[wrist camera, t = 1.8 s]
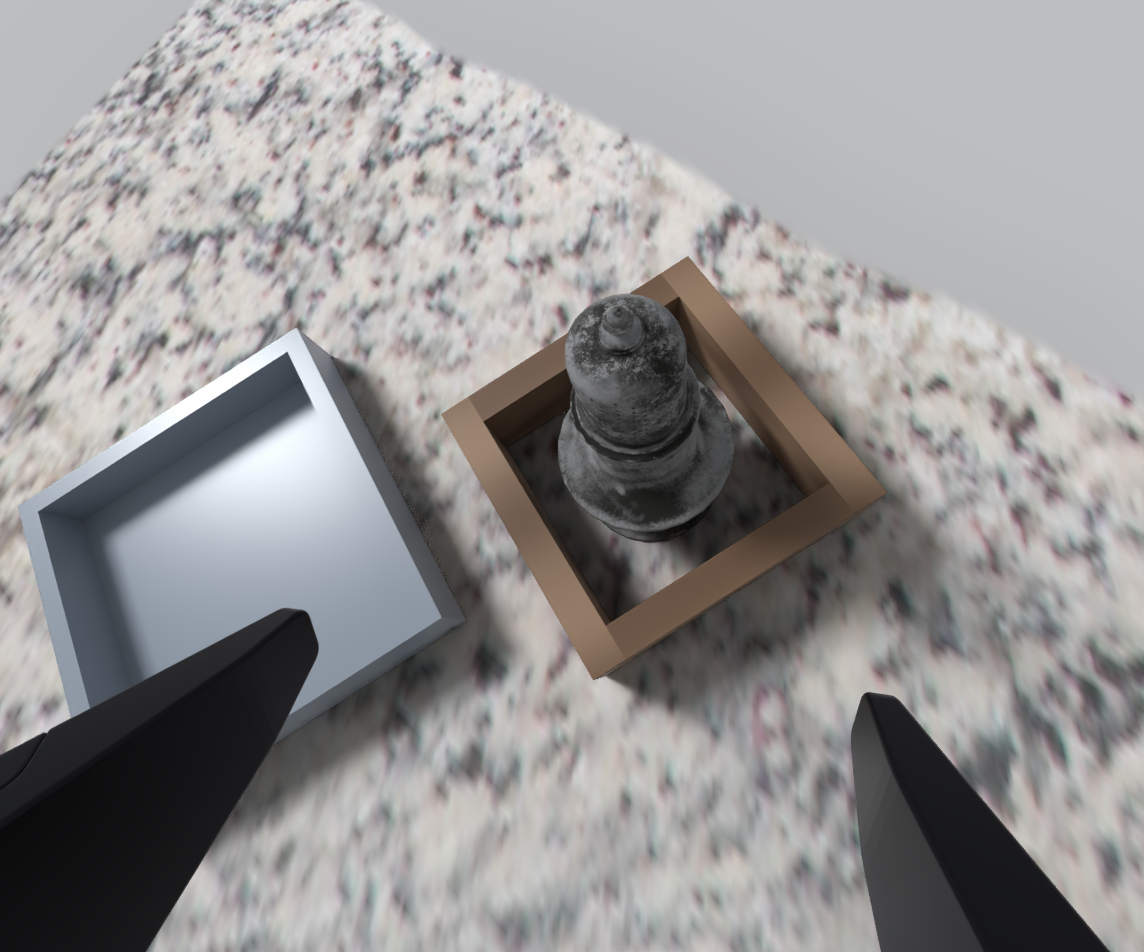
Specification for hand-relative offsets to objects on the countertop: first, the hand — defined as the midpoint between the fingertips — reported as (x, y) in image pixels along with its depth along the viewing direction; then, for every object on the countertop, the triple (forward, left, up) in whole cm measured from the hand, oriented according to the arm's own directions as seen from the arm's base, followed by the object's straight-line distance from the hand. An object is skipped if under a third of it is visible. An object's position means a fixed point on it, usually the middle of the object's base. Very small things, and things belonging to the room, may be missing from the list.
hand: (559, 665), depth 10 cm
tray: (+11, +12, -13) cm, 21 cm away
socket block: (+5, -4, -13) cm, 15 cm away
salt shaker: (+5, -4, -13) cm, 15 cm away
